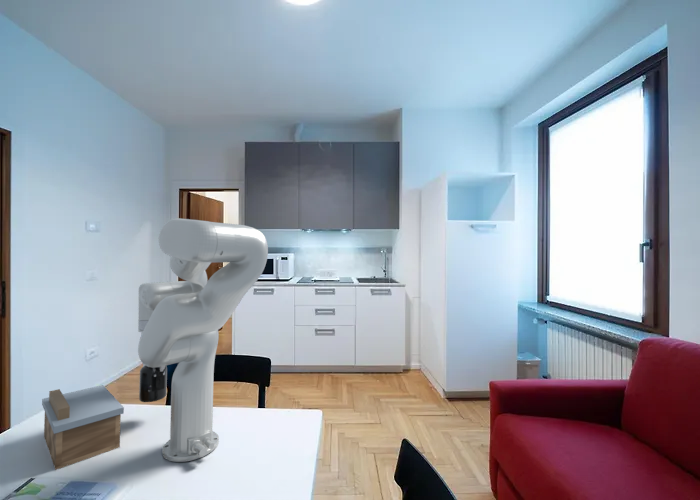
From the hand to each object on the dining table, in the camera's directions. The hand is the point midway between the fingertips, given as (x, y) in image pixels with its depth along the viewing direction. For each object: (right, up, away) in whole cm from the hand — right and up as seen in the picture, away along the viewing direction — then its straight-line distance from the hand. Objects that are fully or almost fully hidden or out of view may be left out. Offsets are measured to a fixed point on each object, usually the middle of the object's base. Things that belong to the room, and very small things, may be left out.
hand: (153, 386), depth 96 cm
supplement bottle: (0, -4, 0) cm, 4 cm away
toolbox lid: (-12, -1, -11) cm, 16 cm away
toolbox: (-12, -9, -11) cm, 19 cm away
